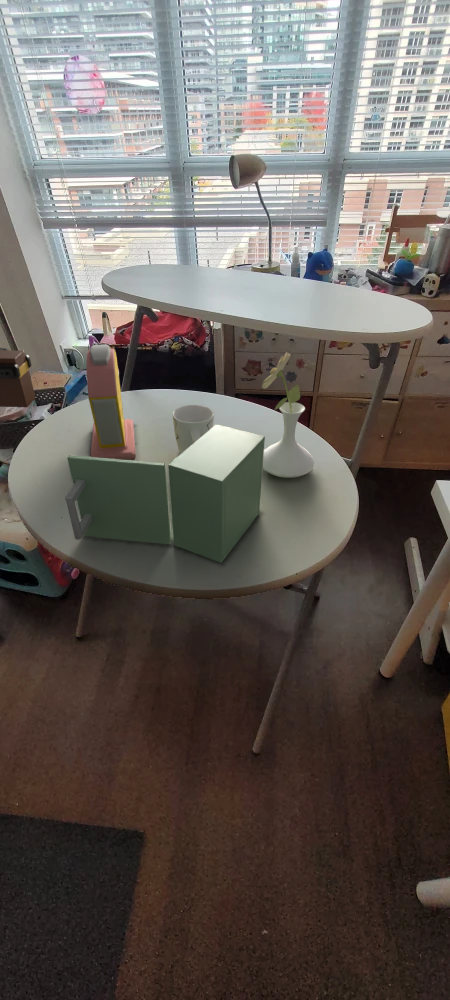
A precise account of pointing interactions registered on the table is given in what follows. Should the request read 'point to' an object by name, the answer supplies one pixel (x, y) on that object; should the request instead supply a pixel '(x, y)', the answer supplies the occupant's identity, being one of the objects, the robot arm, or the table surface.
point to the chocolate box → (16, 381)
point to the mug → (191, 424)
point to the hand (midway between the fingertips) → (23, 366)
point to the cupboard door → (119, 499)
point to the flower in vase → (287, 434)
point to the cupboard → (216, 490)
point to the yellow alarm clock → (108, 407)
